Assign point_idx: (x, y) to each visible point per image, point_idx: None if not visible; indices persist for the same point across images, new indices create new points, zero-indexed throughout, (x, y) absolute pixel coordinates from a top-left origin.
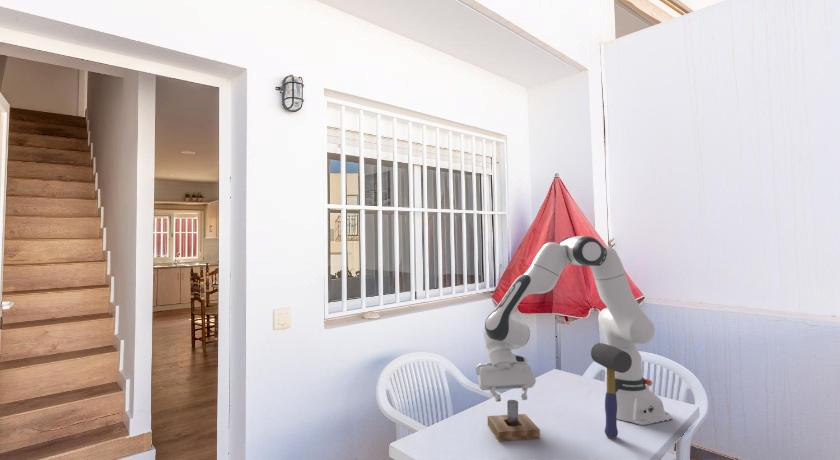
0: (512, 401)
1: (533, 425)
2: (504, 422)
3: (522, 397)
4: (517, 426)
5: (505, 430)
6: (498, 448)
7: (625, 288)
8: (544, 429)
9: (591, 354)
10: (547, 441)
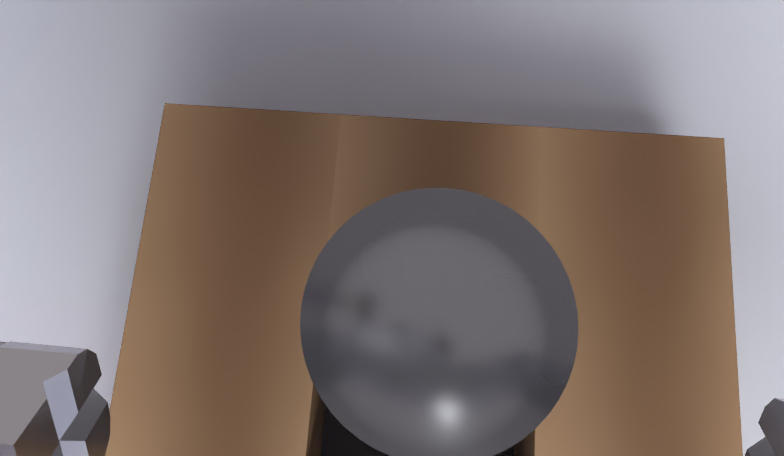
0: (437, 338)
1: (180, 215)
2: None
3: (73, 439)
4: None
5: (618, 157)
6: (719, 49)
7: None
8: None
9: None
10: (152, 84)
